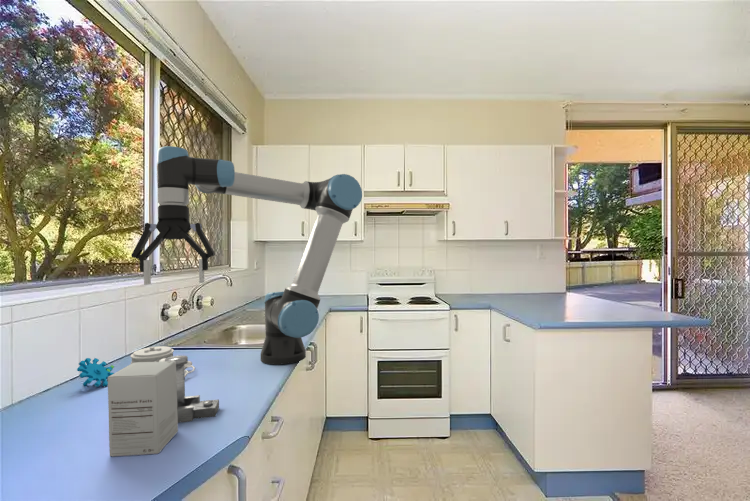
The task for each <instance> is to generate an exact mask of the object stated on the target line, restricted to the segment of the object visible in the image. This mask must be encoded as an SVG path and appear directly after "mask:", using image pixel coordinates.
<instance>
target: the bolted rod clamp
mask: <svg viewBox="0 0 750 501" xmlns="http://www.w3.org/2000/svg"><path fill="white" fill-rule="evenodd" d="M219 410H220V399H208V400H201V395H199V394H198V395H188V396H187V395H185V406H183V407H177V415H178V424H179V423H188V422H193V421H194V420H195V419H205V418H206V419H207V418H216V416H217V414H218V411H219Z"/></svg>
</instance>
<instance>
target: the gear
mask: <svg viewBox="0 0 750 501" xmlns="http://www.w3.org/2000/svg"><path fill="white" fill-rule="evenodd" d="M99 359H100V358H99ZM99 359H98V358H95V357H94V359H91V357H86V358H85V359H84V360H80V361H79V363H78V365H79V366H78V367H77V368H76V371H77V372H80V374H79V378H80V379H83V378H87V379H86V380H85V381H83V383H82V385H83V386H84V387H85V386H88V384H91V383H92V382H93V381H95V382H94V384H93V386H94V387H96V388H97V387H98V388H99V387H100V386H101V384H102V386H103V387H108V377H109V376H111V375H112V374H114V372H112V371H113V369H114V368H115V366H114V365H113V364H111V365H110V366H107V367H106V365H107V364H108V363H106V361H104V360H103V361H102V362H101V363H99V361H100V360H99Z"/></svg>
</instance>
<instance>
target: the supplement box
mask: <svg viewBox="0 0 750 501" xmlns="http://www.w3.org/2000/svg"><path fill="white" fill-rule="evenodd" d="M113 373H114V372H113ZM107 382H108V385H107V403H108V406H107V407H108V408H107V409H108V441H109V443H108V444H109V445H108V446H109V457H111V456H112V457H125V456H141V455H156V454H157V455H158V454H160V453H161V452H162V450H163V449H165V446H166V445H168V443H169V442H170V441H171V439H173V437H174V436H176V434H177V433H178V431H179V423H178V415H177V382H176V361H165V362H136V363H132V364H131V363H130V364H128V365H126V366H125V367H123V368H121V369H120V370H118V371H116V372H115V373H114V374H112V375H111V376H109V377H108V380H107Z"/></svg>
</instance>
